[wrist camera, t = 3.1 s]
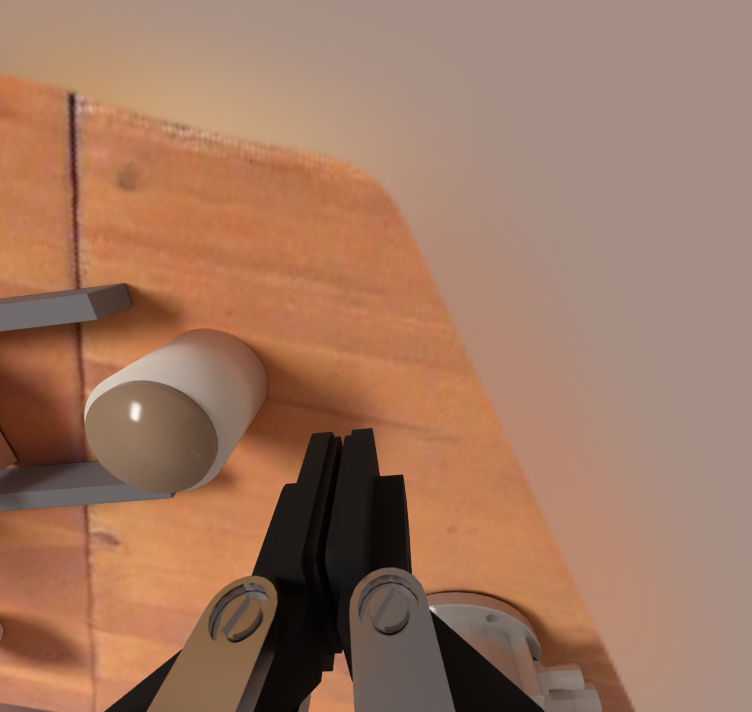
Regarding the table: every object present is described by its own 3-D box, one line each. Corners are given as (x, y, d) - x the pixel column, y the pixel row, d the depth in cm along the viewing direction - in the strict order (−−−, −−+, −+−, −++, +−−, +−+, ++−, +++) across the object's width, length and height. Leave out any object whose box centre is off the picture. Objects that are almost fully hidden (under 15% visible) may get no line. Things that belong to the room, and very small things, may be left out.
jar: (252, 322, 19) (197, 368, 14) (278, 420, 22) (239, 495, 16) (145, 334, 20) (48, 384, 14) (180, 429, 22) (109, 504, 16)
